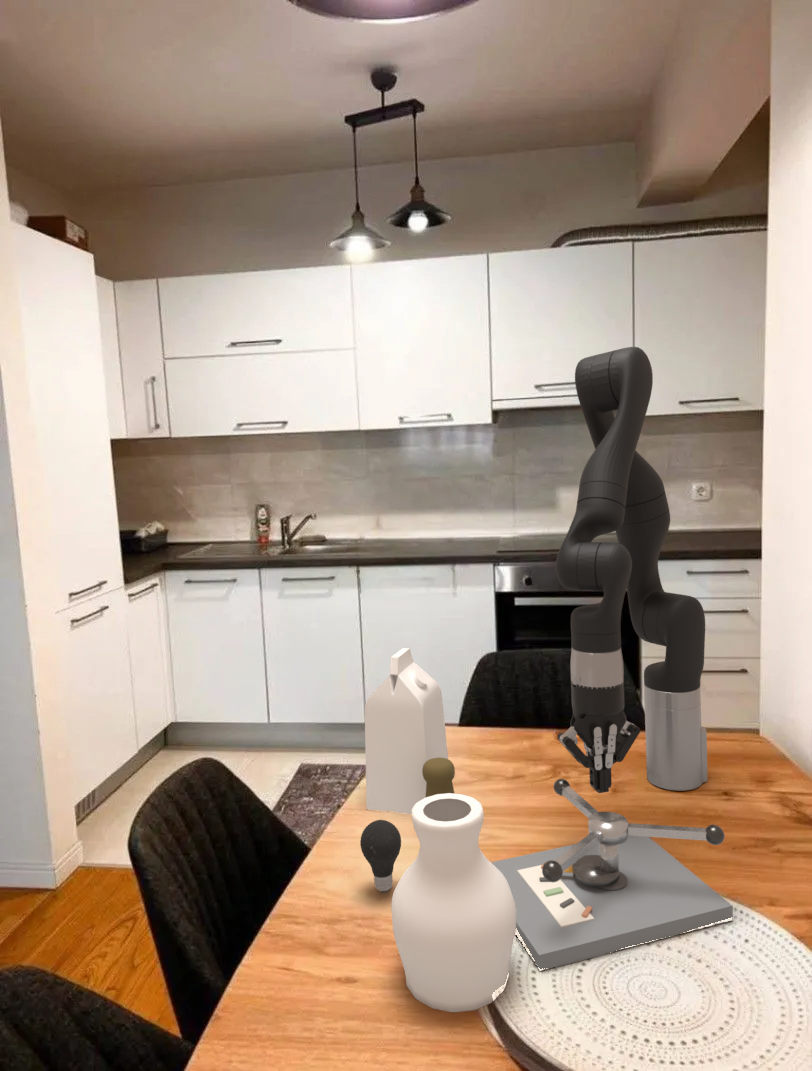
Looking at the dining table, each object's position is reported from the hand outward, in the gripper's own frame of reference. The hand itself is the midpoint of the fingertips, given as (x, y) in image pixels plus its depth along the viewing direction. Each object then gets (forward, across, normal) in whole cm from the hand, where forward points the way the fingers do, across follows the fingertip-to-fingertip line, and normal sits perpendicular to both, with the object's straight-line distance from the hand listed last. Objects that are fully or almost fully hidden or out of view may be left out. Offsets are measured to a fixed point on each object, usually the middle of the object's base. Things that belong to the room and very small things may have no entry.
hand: (600, 790), depth 111 cm
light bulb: (+9, +34, 0) cm, 35 cm away
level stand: (+8, +8, +12) cm, 17 cm away
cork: (+8, +21, -14) cm, 26 cm away
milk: (+9, +23, -26) cm, 36 cm away
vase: (+9, +30, +19) cm, 36 cm away
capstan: (+5, +3, +13) cm, 15 cm away
